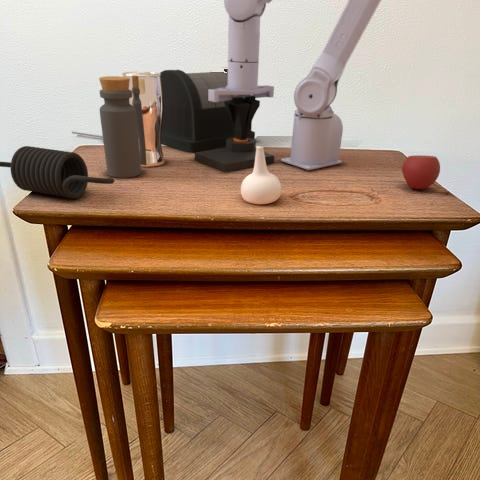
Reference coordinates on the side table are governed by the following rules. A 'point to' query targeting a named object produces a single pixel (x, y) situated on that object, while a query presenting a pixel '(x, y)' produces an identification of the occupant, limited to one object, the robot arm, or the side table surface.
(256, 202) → the garlic bulb
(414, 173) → the fruit
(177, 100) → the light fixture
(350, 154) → the side table surface
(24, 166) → the coil
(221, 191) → the side table surface
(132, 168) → the bottle
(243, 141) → the button
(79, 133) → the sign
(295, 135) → the robot arm
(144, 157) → the beer glass
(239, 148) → the scale
